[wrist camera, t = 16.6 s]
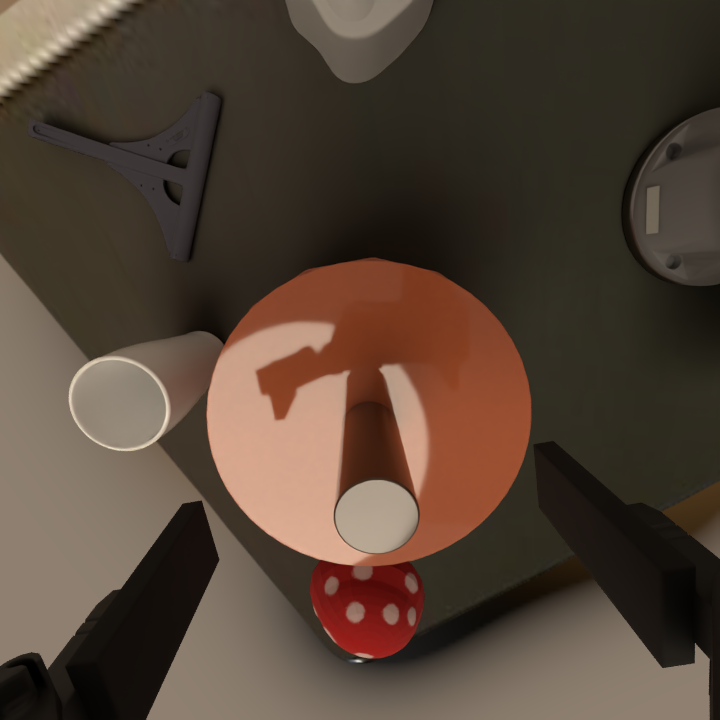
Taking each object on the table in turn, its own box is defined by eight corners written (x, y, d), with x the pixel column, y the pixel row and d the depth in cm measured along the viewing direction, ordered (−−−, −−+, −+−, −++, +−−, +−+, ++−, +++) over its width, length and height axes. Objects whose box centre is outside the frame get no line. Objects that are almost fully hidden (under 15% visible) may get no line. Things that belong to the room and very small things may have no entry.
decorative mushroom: (309, 539, 45) (287, 672, 30) (334, 472, 43) (322, 579, 28) (393, 564, 46) (411, 705, 31) (421, 500, 44) (454, 617, 29)
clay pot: (442, 247, 39) (623, 206, 12) (464, 425, 43) (637, 677, 17) (253, 281, 39) (44, 312, 13) (293, 454, 43) (197, 742, 17)
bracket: (54, 46, 35) (28, 27, 32) (224, 102, 36) (213, 89, 33) (35, 215, 38) (10, 211, 35) (191, 262, 39) (179, 262, 36)
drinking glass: (188, 397, 42) (98, 466, 27) (157, 337, 40) (45, 376, 26) (247, 374, 41) (189, 432, 27) (219, 312, 40) (140, 339, 25)
